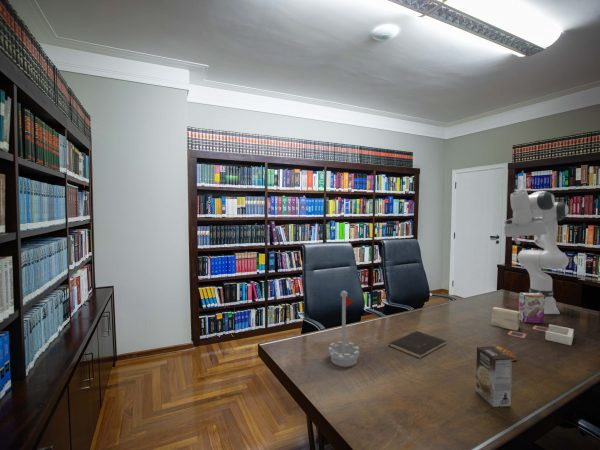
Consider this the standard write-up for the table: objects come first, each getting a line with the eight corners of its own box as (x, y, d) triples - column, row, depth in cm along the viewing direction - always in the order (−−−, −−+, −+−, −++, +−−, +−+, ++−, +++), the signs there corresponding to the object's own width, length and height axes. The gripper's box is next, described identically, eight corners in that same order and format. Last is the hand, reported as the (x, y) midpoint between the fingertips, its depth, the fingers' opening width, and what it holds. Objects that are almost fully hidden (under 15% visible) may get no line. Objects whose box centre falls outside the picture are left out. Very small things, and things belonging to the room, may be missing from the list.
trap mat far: (534, 325, 167) (534, 325, 167) (550, 329, 162) (550, 328, 162) (532, 329, 162) (532, 328, 162) (549, 332, 158) (549, 332, 158)
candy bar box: (523, 322, 172) (524, 294, 171) (518, 319, 177) (518, 292, 176) (544, 323, 171) (545, 295, 170) (538, 320, 176) (539, 292, 175)
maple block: (493, 322, 173) (494, 306, 173) (519, 327, 165) (519, 311, 164) (491, 325, 169) (491, 309, 169) (517, 330, 160) (517, 314, 160)
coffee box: (474, 390, 106) (475, 346, 105) (491, 390, 106) (492, 345, 106) (493, 407, 97) (494, 358, 96) (512, 406, 97) (513, 357, 97)
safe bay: (548, 331, 159) (549, 324, 159) (573, 336, 152) (573, 329, 152) (545, 339, 149) (545, 331, 149) (571, 345, 142) (571, 337, 142)
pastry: (519, 359, 129) (519, 350, 129) (511, 363, 125) (511, 354, 125) (495, 351, 137) (495, 343, 137) (487, 354, 133) (488, 346, 133)
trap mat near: (510, 330, 160) (510, 330, 160) (526, 334, 155) (526, 334, 155) (507, 334, 155) (507, 334, 155) (524, 338, 150) (524, 337, 150)
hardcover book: (446, 345, 144) (446, 340, 144) (420, 359, 130) (420, 354, 130) (415, 334, 156) (415, 330, 156) (389, 346, 142) (389, 342, 142)
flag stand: (340, 370, 120) (340, 296, 119) (322, 357, 131) (322, 289, 130) (365, 363, 126) (366, 292, 125) (347, 350, 137) (347, 285, 136)
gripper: (548, 216, 161) (552, 241, 161) (506, 220, 179) (510, 243, 178) (543, 217, 158) (547, 243, 157) (501, 222, 175) (505, 245, 175)
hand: (527, 243), depth 168 cm, fingers open, 8 cm apart
